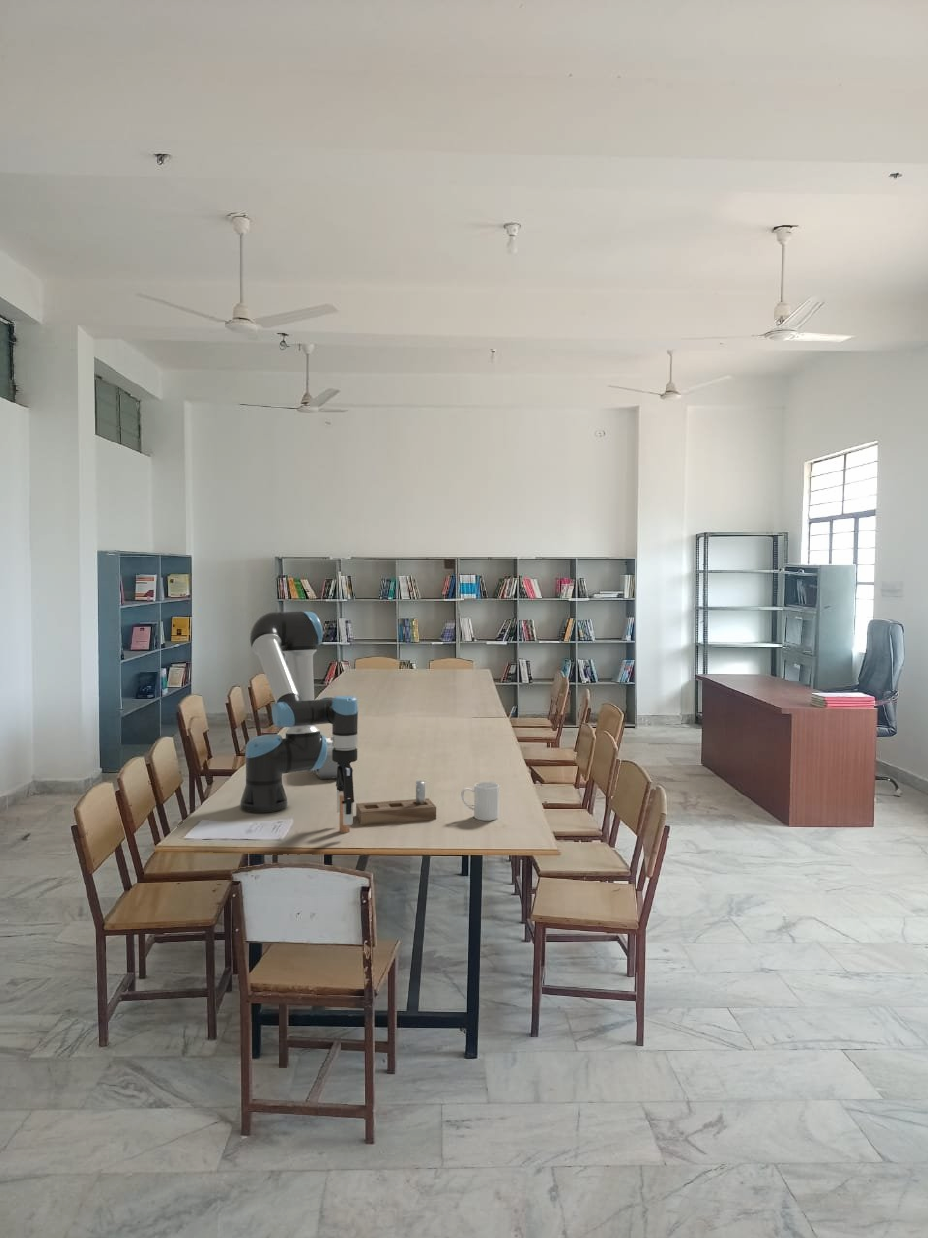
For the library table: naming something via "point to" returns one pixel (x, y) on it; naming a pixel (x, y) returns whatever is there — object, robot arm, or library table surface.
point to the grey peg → (420, 793)
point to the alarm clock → (328, 764)
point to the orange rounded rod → (342, 827)
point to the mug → (485, 801)
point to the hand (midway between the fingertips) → (344, 818)
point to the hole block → (394, 811)
